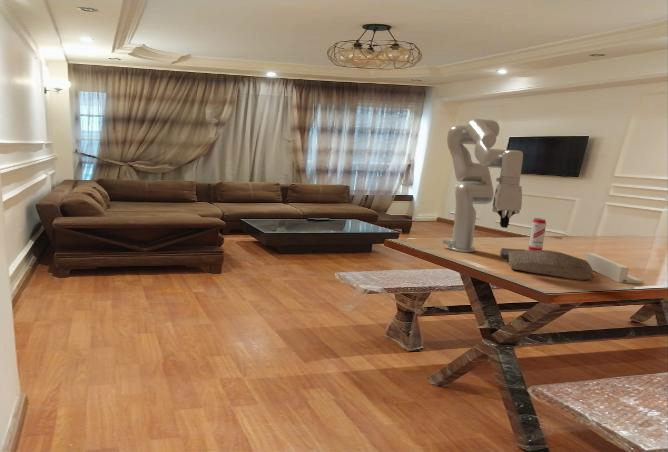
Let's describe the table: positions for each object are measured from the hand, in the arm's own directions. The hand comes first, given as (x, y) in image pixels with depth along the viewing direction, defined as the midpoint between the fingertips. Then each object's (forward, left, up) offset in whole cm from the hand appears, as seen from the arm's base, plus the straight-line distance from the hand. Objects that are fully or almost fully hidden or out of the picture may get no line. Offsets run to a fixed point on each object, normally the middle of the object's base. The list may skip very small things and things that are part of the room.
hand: (503, 227), depth 181 cm
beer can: (+32, +38, -17) cm, 53 cm away
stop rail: (+47, 0, -17) cm, 50 cm away
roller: (+13, +18, -16) cm, 27 cm away
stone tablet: (+20, 0, -17) cm, 27 cm away
